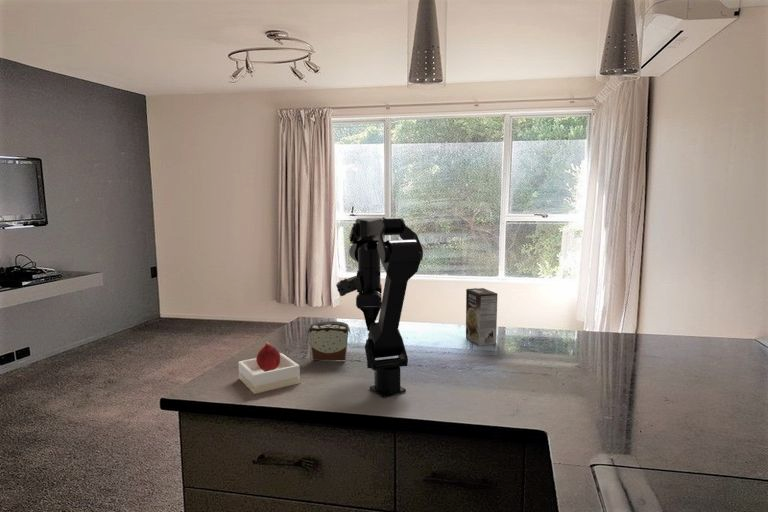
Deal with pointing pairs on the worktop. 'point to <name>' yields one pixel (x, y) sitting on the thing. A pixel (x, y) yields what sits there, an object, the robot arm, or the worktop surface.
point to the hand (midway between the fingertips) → (370, 325)
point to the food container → (328, 340)
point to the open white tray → (269, 375)
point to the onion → (268, 358)
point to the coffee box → (481, 316)
